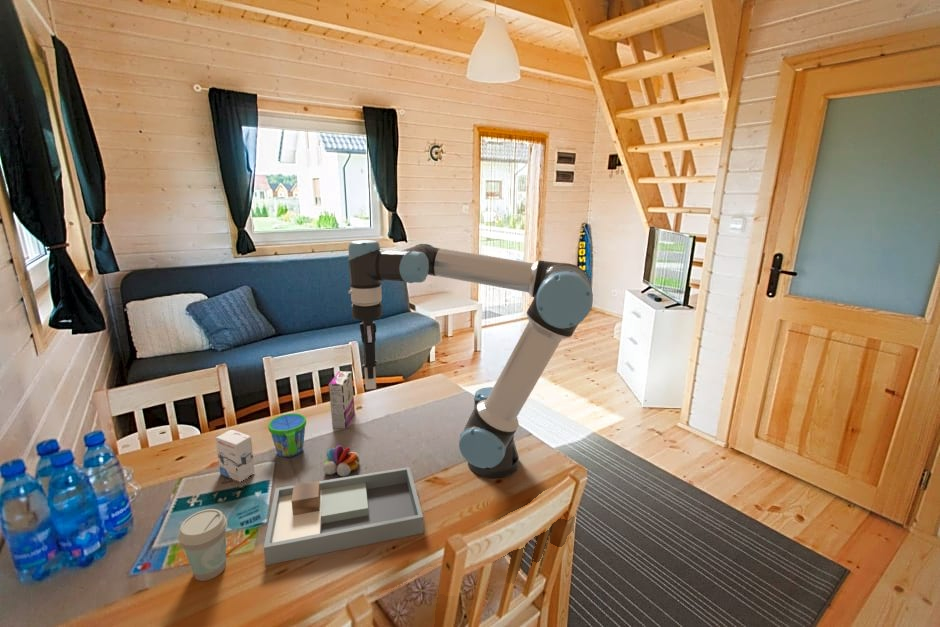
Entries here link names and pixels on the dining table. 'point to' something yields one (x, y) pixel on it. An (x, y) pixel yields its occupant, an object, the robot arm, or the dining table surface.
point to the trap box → (345, 516)
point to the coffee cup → (205, 543)
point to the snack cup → (288, 434)
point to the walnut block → (306, 498)
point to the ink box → (235, 455)
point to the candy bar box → (341, 399)
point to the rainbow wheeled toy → (340, 461)
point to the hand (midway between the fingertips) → (370, 387)
